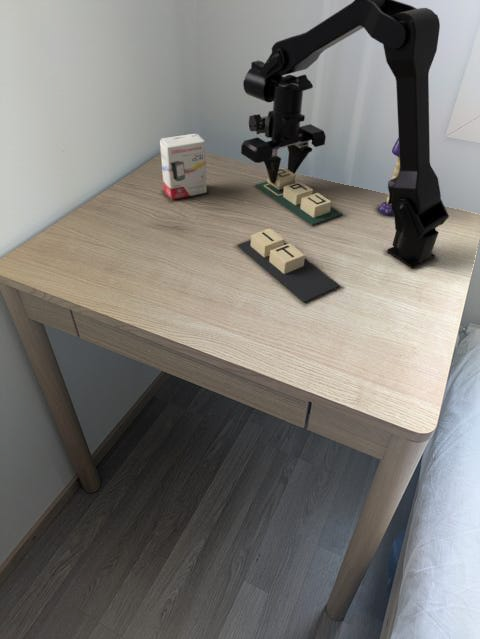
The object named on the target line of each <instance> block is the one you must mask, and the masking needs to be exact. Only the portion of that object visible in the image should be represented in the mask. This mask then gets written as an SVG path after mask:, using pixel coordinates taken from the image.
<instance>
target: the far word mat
mask: <svg viewBox="0 0 480 639" xmlns="http://www.w3.org/2000/svg"><path fill="white" fill-rule="evenodd" d="M255 187H256V188H257V189H259V190H260V191H262V192H263V193H265V194H266V195H267V196H269V197H271V199H273V200H274V201H276V202H278V203H279V204H280V205H282V206H283V207H285V208H286V209H287V210H289V211H290V212H292V213H293V214H295V215H296V216H297V217H299V218H300V219H302V220H304V221H305V222H306V223H308V225H311V227H314V226H316V225H319V224H322V223H325V222H327V221H329V220H332V219H335V218H338V217H340V216H343V214H342V212H340V211H339V210H338V209H336V208H333V206H332V203H333V202H332V200H330V199H328V198H327V197H325V196H324V195H322V194H320V193H319V192H316V193H314V189H312V188H311V187H309V186H308V185H306V184H304V183H303V182H302V181H297V182H295V183H294V184H291V185H287V186H284V189H280V190H278V189H277V188H275V187H274V186H272V185H271V184H269V183H268V182H267V181H263V182H261V183H258V184H255Z"/></svg>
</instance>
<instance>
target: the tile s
mask: <svg viewBox="0 0 480 639" xmlns="http://www.w3.org/2000/svg"><path fill="white" fill-rule="evenodd" d="M266 176H267V177H266V182H268V183H269V184H271V185H272V186H274V187H275V188H277V189H278V190H280V189H284V186H287V185H291V184H294V183H296V176H297V174H296V173H295V174H294V173H292V172H291V171H289V170H288V168H286V167H284V166H283V167H279V170H278V174H277V178H276V181H275V183H274V184H273V183H271V181H270V178H269V175H268V173H267V174H266Z"/></svg>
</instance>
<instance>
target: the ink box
mask: <svg viewBox="0 0 480 639" xmlns="http://www.w3.org/2000/svg"><path fill="white" fill-rule="evenodd" d="M159 146H160V147H159V148H160V159H161V160H160V161H161V172H162V173H161V174H162V185H163V192H164V194H165V195H166V196H167V197H168V198H170V200H177V199H183V198H188V197H192V196H196V195H197V196H198V195H201V194H206V193H207V192H208V191H207V163H206V141H205V140H204V138H203V137H202V136H201V135H199V134H198V133H189V134H182V135H177V136H168V137H161V139H160V140H159Z"/></svg>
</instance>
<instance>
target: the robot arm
mask: <svg viewBox="0 0 480 639" xmlns="http://www.w3.org/2000/svg"><path fill="white" fill-rule="evenodd" d="M440 27H441V24H440V18H439V16H438V14H437V13H435V12H434V11H433V10H432V9H430V8H428V7H419V8H417V7H415V6H412V5H410V4H407V3H404V2H401V1H397V0H353V1H352V2H350V3H349V4H348V5H346V6H344V7H343V8H341V9H340V10H338V11H337V12H335V13H334V14H332V15H331V16H329V17H327V18H325V20H323V21H322V22H320V23H318V24H316V25H315V26H314V27H312V28H310V29H309V30H307V31H306V32H303V33H300V34H297V35H294V36H289V37H287V38H284V39H281V40H279V41H276V42H275V43H274V44H273V45H272V47H271V53H270V55H269V57H268V58H267V60H266V61H265V62H264V61H261V60H255V61H252V62H251V63H250V64H251V66H250V67H251V68H249V70H248V71H247V73H246V74H245V76H244V80H243V82H242V83H243V84H242V85H243V86H242V87H243V90H244V92H245V94H246V95H247V96H250V97H253V98H255V99H257V100H261V101H263V102H266V103H272V102H273V104H272V110H269V111H268V113H267V115H266V116H261V114H252V115H249V116H248V127H249V131H250V132H255V133H256V135H260V134H264V137H266V138H267V139H270V140H269V141H265V140H264V139H261V137H254V138H250V139H246V140H245V139H244V141H243V142H242V143H241V147H240V154H241V155H242V156H244V157H245V158H247V159H249V160H250V161H252V162H254V164H255V163H257V164H260V163H264V165H265V168H266V172H267V174H268V175H269V178H270V181H271V183H273V184H274V183H275V181H276V178H277V174H278V170H279V168H280V165H281V162H282V157H280V156H278V151H279V150H280V149H283V148H287V150H288V159H287V169H288V170H289V171H291V172H292V173H294V174H296V172H297V171H298V169H299V167H300V166H301V164H302V163H303V162H304V161H305V159H306V158H307V156H308V155H309V153H311V152H313V148H312V147H310V146H309V144H310V143H309V141H311V145H312V146H313V147H315V148H318V147H321V146H322V147H323V146H325V145H326V138H327V136H326V132H325V131H324V130H323V129H321V128H319V127H317V126H315V125H313V124H311V123H309V124H306V125H305V124H304V125H301V122H304V121H305V117H306V115H305V114H302V108H303V98H304V97H303V96H304V91H308V90H310V89H313V88H314V86H313V84H312V82H311V80H310V79H308V76H307V75H306V74H302V75H298V76H297V75H293V74H294V73H297V72H300V71H304V70H307V69H309V67H311V66H312V65H313V64H314V63H315V62H316V61H318V59H319V57H320V56H321V54H322V53H323V52H324V51H326V50H327V49H329V48H332V47H333V46H335V45H336V44H338V43H339V42H342V41H343V40H345V39H347V38H349V37H350V36H352V35H354V34H355V33H357V32H359V31H360V30H362V29H364V31H366V32H367V34H368V35H369V36H370V38H372V39H374V40H375V41H377V42H379V43H380V44H382V45H383V51H384V55H385V56H384V57H385V62H386V64H387V65H388V68H389V69H390V71H391V72H392V75H393V76H394V78H395V86H396V107H397V108H396V109H397V128H398V129H397V132H398V137H399V156H400V171H399V173H398V176H397V177H396V178H394V179H392V178H391V179H390V180H388V181H387V190H388V192H389V201H388V204H391V207H392V211H393V214H394V215H393V217H394V229H395V233H394V237H393V241H392V246H391V247H389V248H388V249H387V250H386V253H387V254H389V255H390V256H392V257H393V258H394V259H396V260H398V261H399V262H401V263H403V264H404V265H405V266H407V267H409V268H410V269H415V268H417V267H419V266H421V265H424V264H426V263H428V262H430V261H433V260H434V259H435V258H436V255H435V254H434V253H433V250H434V247H435V245H436V241H437V238H438V235H439V230H436V229H437V228H438V227H440V226H443V225H444V224H445V222H446V221H447V220H448V219H449V217H450V216H449V212H448V211H447V209H446V206H445V204H444V203H443V201H442V194H441V188H440V182H439V178H438V176H437V174H436V172H435V171H434V169H433V167H432V166H431V152H430V150H431V149H430V147H431V146H430V94H429V93H430V91H429V90H430V88H429V87H430V86H429V85H430V82H429V73H430V70H431V67H432V64H433V61H434V58H435V56H436V53H437V51H438V43H439V36H440V31H441V30H440ZM300 125H301V126H300Z"/></svg>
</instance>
